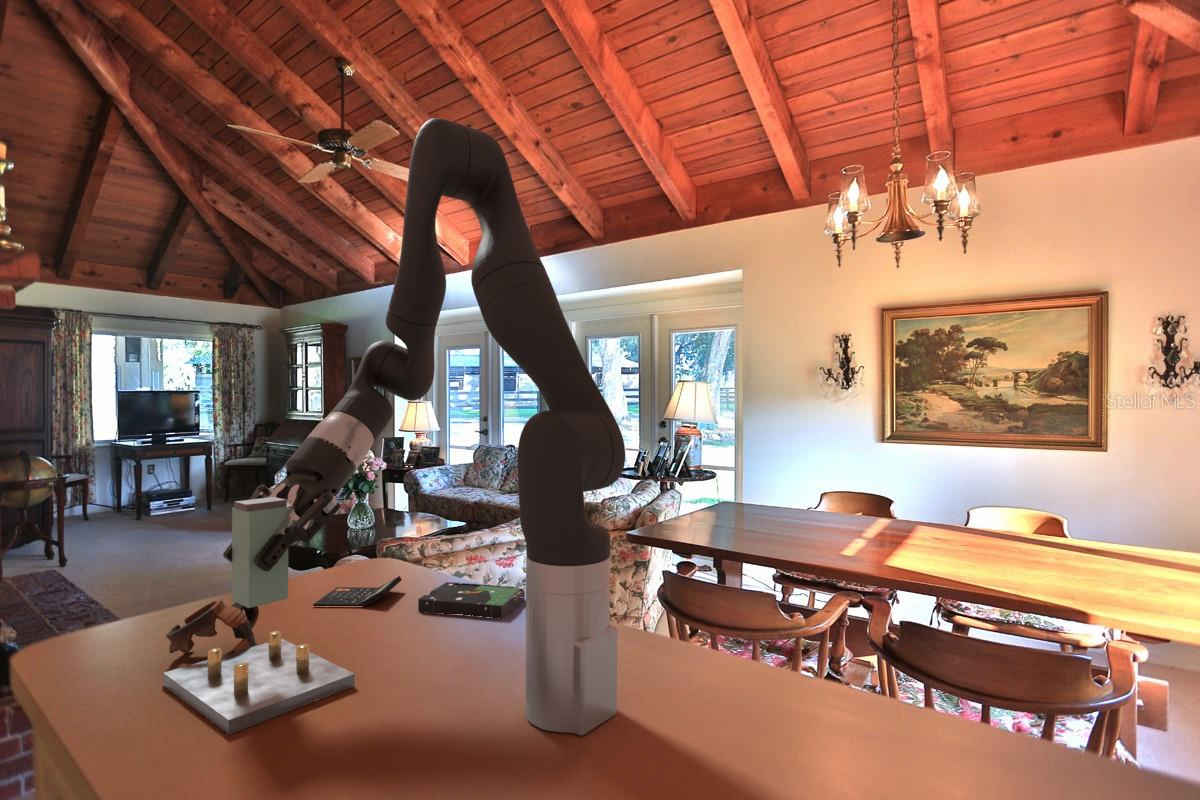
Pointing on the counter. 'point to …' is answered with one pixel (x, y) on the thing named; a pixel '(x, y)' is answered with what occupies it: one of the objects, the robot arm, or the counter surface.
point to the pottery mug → (205, 625)
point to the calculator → (356, 595)
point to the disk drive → (472, 600)
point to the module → (257, 552)
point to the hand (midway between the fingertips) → (245, 563)
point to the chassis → (256, 682)
